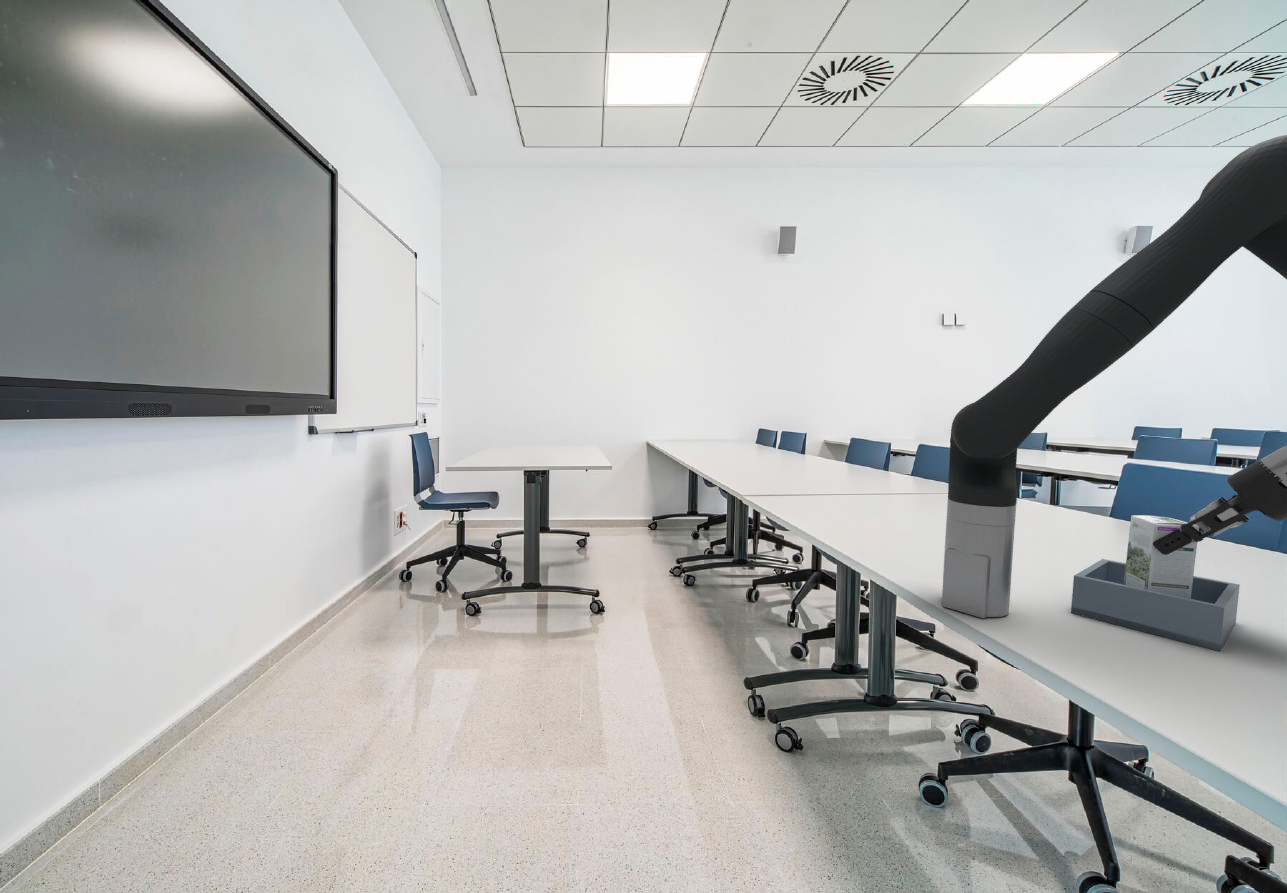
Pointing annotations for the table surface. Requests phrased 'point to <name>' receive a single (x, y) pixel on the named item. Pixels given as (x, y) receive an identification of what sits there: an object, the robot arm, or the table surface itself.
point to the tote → (1157, 606)
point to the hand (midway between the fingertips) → (1164, 544)
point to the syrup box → (1158, 558)
